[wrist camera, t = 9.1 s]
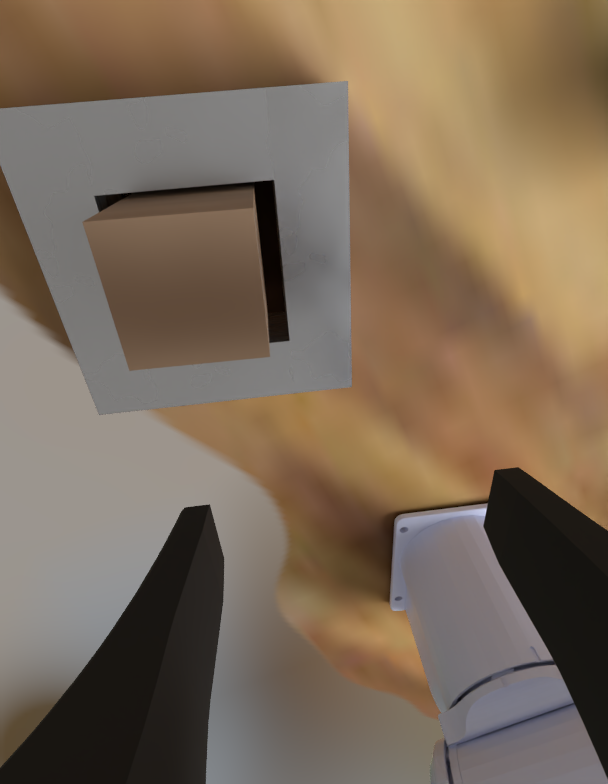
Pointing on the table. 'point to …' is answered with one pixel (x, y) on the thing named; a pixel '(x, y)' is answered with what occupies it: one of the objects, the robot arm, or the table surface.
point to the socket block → (182, 170)
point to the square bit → (184, 275)
